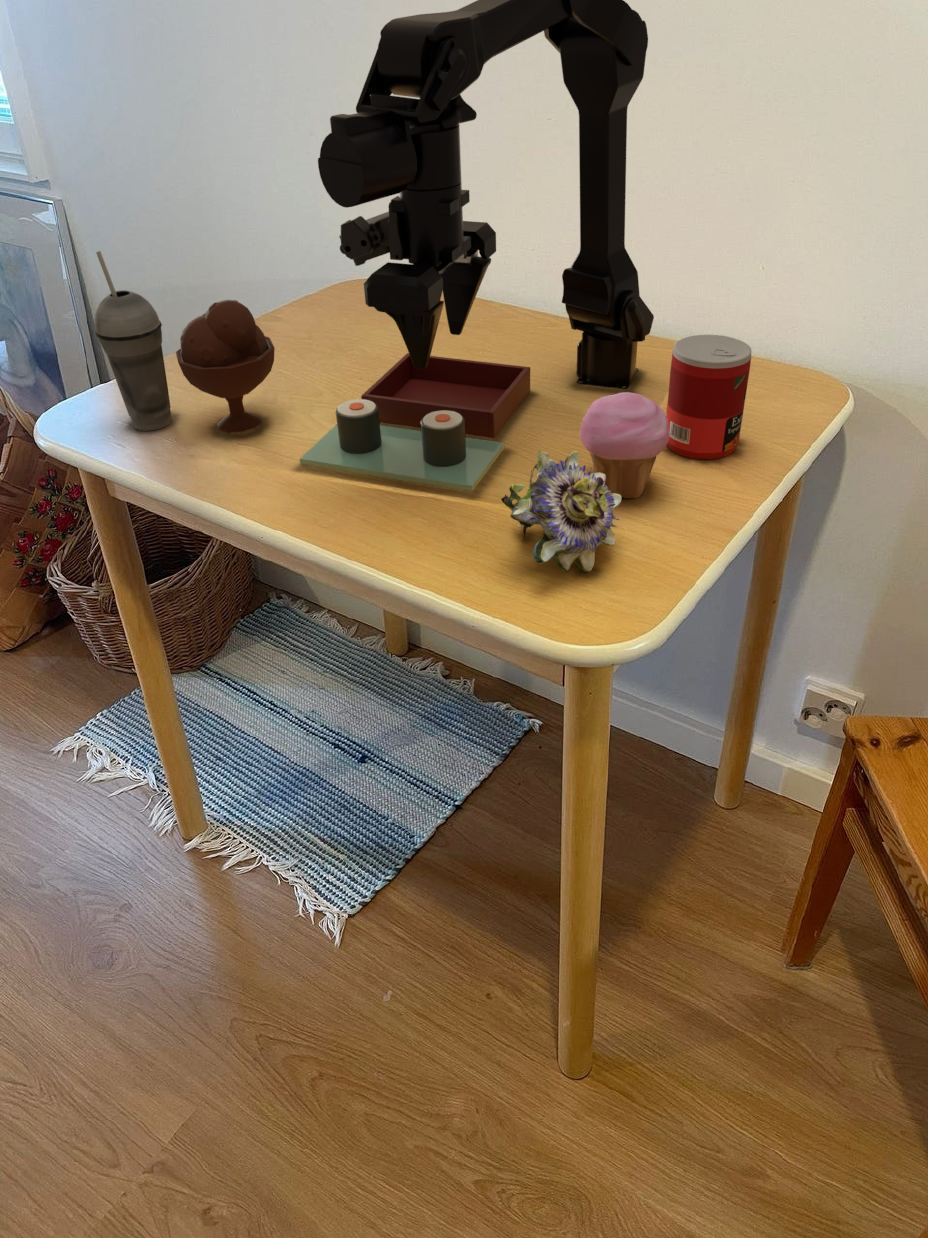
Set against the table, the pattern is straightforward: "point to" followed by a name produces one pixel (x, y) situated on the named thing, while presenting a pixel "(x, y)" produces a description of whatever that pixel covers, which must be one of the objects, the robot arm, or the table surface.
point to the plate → (405, 459)
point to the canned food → (707, 395)
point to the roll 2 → (443, 438)
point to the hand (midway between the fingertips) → (438, 350)
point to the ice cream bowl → (226, 359)
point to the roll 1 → (358, 426)
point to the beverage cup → (134, 354)
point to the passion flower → (566, 511)
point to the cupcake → (624, 440)
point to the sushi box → (451, 392)
